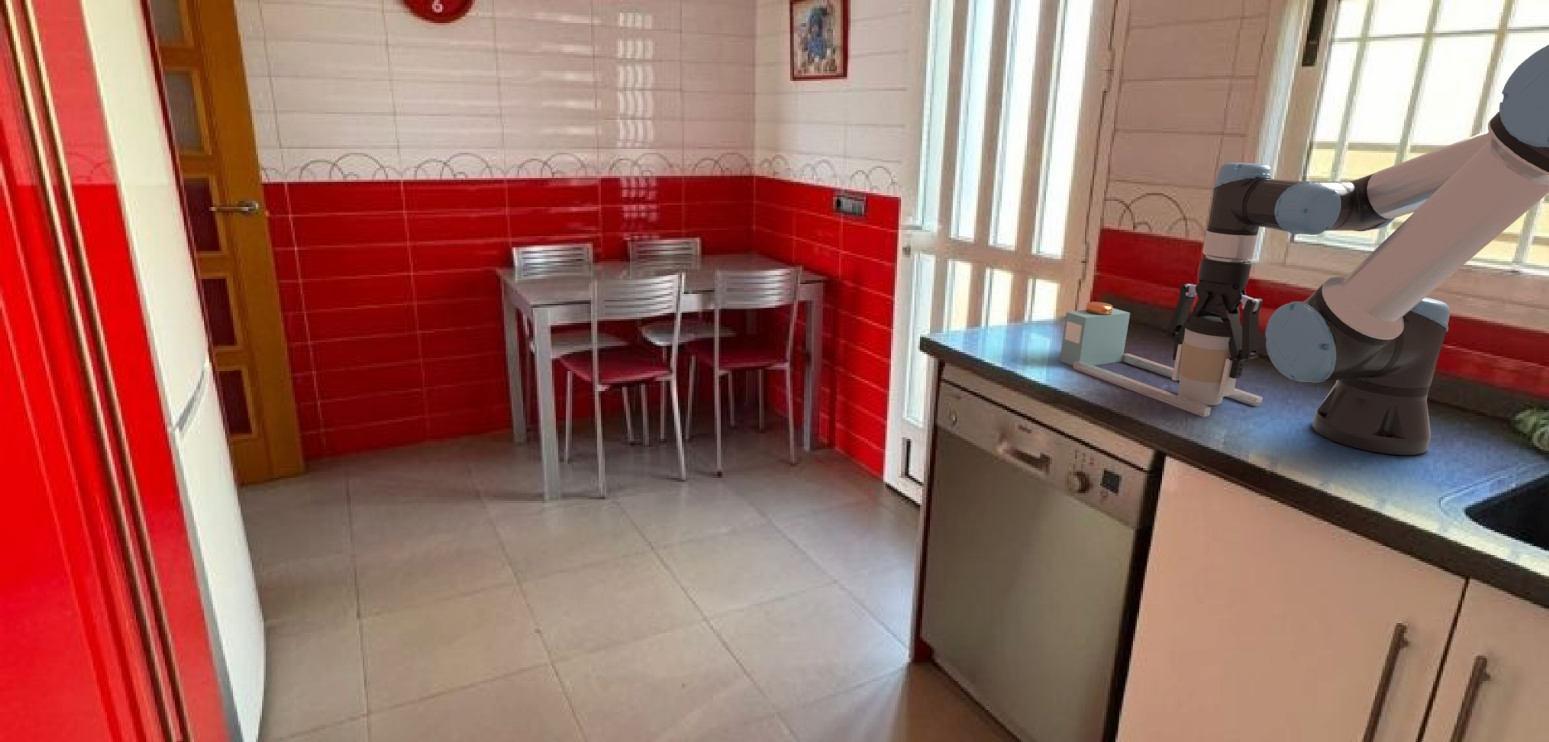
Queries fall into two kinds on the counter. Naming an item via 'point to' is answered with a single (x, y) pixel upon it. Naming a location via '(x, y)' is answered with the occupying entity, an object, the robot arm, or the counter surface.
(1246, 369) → the counter surface
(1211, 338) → the coffee cup
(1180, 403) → the parallel base rails
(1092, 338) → the cabinet
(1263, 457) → the counter surface
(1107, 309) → the knob
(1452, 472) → the counter surface
